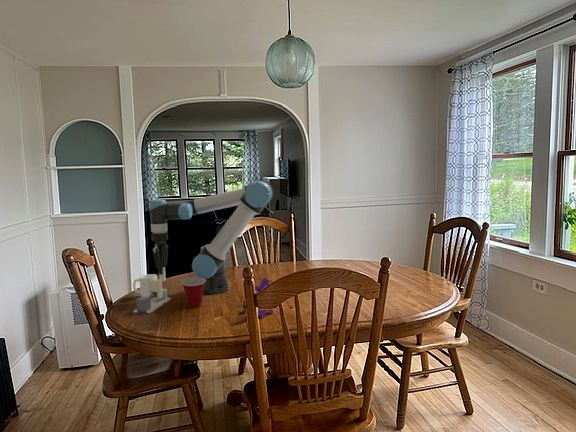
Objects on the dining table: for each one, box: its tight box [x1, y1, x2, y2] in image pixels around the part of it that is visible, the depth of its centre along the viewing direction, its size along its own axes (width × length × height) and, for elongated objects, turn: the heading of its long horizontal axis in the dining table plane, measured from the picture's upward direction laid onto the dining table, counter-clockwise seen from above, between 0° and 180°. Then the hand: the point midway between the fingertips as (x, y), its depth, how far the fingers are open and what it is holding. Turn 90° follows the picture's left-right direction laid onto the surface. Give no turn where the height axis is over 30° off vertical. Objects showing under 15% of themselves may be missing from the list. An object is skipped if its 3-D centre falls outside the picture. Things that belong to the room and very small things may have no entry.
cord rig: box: [133, 288, 172, 314], centre depth 199 cm, size 20×8×6 cm, turn 170°
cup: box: [132, 273, 158, 297], centre depth 215 cm, size 8×12×10 cm
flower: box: [242, 277, 274, 318], centre depth 184 cm, size 15×15×14 cm
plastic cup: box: [180, 276, 206, 309], centre depth 196 cm, size 11×11×12 cm
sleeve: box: [149, 278, 164, 300], centre depth 203 cm, size 4×5×9 cm
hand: (162, 280), depth 209 cm, fingers closed
